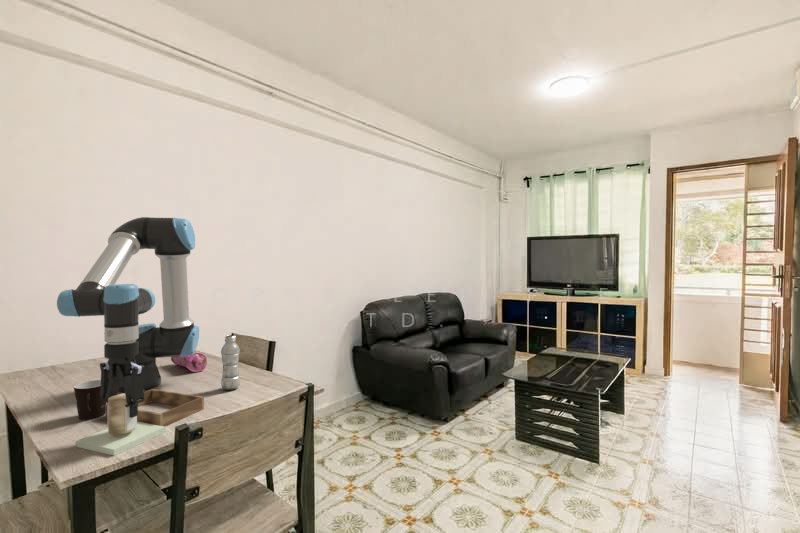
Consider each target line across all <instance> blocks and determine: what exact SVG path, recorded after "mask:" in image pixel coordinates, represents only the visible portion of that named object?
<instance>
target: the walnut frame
mask: <svg viewBox="0 0 800 533" xmlns="http://www.w3.org/2000/svg"><path fill="white" fill-rule="evenodd" d="M152 402H153V403H157V404H164V405H171V406H176V407H173V408H170V409H168V410H166V411H163V412H154V411H148V410H144V409H139V407H142V406H144V405H147V404H150V403H152ZM204 409H205V397H204V396H201V395H195V394H194V395H193V394H187V393H181V392H175V391H168V390H161V389H155V388H150V389H147V390H144V401H143V402H140V403H138V415H137V422H143V423H148V424H153V425H158V426H164V427H165V428H166V427H168V426H169V425H172V424H174V423H176V422H178V421H180V420H183V419H184V418H188V417H189V416H193V415H194V414H196V413H198V412H200V411H202V410H204ZM104 416H105V419H107V404H106V405H105V415H104Z"/></svg>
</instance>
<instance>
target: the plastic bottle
mask: <svg viewBox="0 0 800 533" xmlns="http://www.w3.org/2000/svg"><path fill="white" fill-rule="evenodd" d="M236 341H237V337H236V335H235V334H229V335H225V337H224V344H223V346H222V347H221V349H220V354H221V360H222V362H221V363H222V373H221V374H222V375H221V379H220V380H221V382H220V384H221V385H220V386H221V388H222V389H223V390H226V391H227V390H228V391H229V390H230V391H231V390H235V389H238V388H239V387H240V385H241V384H240V383H241V377H240V374H239V371H240V370H239V358H240V351H241V350H240V346H239V345H238V343H236Z"/></svg>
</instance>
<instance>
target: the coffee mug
mask: <svg viewBox="0 0 800 533" xmlns="http://www.w3.org/2000/svg"><path fill="white" fill-rule="evenodd" d="M100 390H101V379H93V380H89V381H88V380H87V381H83V382H79V383H76V384H75V385H74V386H73V391H74V396H75V404H76V410H77V411H76V412H77V415H78V416H77V417H78V420H79V421H91V420H96V419H99V418H102V417H104V416H105V405H107V402H105V399H101V398H100ZM105 394H106V393H105Z"/></svg>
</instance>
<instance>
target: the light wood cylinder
mask: <svg viewBox="0 0 800 533" xmlns="http://www.w3.org/2000/svg"><path fill="white" fill-rule="evenodd" d="M125 405H127V400H126V395H125V392H123V393H118V395H114V396H112V397H110V398H108V420H107V428H108V433H109V434H110V435H120V434H125V433H128V432H130V431H133V430H134V429H135V428H136V427H135V428H133V429H131V430H128V431H125Z"/></svg>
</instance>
